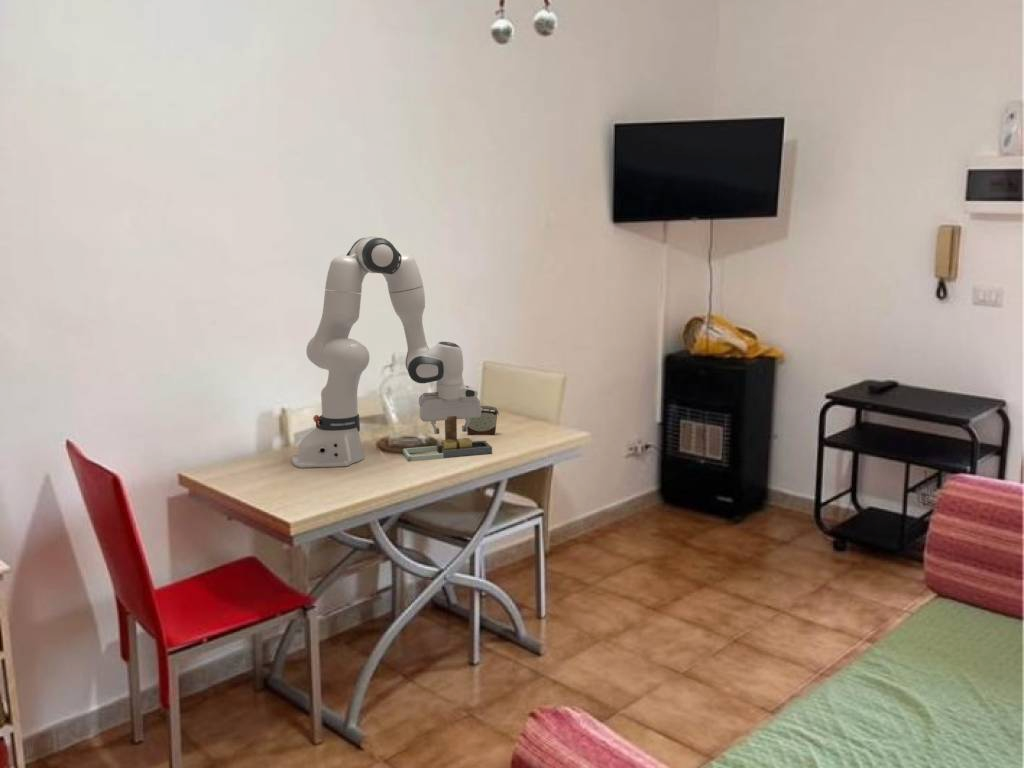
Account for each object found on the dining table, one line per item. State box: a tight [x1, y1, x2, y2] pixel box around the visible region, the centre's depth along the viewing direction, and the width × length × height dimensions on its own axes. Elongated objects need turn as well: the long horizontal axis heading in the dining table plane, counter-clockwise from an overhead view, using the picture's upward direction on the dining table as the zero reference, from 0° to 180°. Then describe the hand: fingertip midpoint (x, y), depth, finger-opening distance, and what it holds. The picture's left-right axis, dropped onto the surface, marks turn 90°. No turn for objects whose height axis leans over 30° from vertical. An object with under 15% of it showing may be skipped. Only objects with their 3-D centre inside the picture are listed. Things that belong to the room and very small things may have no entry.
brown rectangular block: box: [444, 416, 458, 442], centre depth 306 cm, size 3×4×11 cm
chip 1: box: [440, 439, 457, 450], centre depth 296 cm, size 4×4×4 cm
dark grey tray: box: [436, 440, 493, 459], centre depth 298 cm, size 16×10×3 cm, turn 107°
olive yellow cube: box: [457, 437, 473, 449], centre depth 297 cm, size 4×4×4 cm
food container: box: [466, 405, 500, 436], centre depth 321 cm, size 12×6×10 cm, turn 84°
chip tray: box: [402, 445, 445, 462], centre depth 294 cm, size 11×10×2 cm
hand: (450, 432), depth 306 cm, fingers open, 8 cm apart
